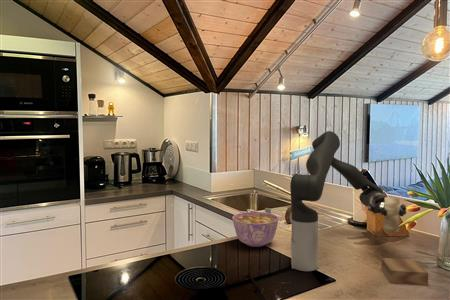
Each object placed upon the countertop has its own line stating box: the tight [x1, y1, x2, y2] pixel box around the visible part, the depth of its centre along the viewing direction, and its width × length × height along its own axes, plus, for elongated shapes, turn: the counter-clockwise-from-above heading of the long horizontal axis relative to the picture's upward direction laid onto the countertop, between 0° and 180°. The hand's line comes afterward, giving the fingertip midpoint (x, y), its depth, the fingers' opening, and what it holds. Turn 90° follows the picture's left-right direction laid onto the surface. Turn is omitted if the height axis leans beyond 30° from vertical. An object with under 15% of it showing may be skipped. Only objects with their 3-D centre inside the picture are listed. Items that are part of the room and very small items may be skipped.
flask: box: [264, 207, 272, 214], centre depth 172 cm, size 7×7×10 cm
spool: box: [383, 196, 401, 233], centre depth 128 cm, size 5×5×12 cm
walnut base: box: [381, 257, 429, 286], centre depth 116 cm, size 11×11×4 cm
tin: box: [284, 206, 292, 224], centre depth 184 cm, size 15×3×8 cm, turn 141°
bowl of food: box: [231, 211, 280, 248], centre depth 150 cm, size 20×20×12 cm
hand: (394, 213), depth 126 cm, fingers closed on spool, 5 cm apart
